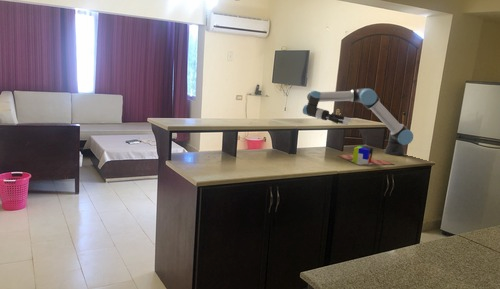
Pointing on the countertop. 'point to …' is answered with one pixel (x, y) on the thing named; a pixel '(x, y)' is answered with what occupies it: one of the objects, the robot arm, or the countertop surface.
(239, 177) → the countertop surface
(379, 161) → the board
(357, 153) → the puzzle toy
